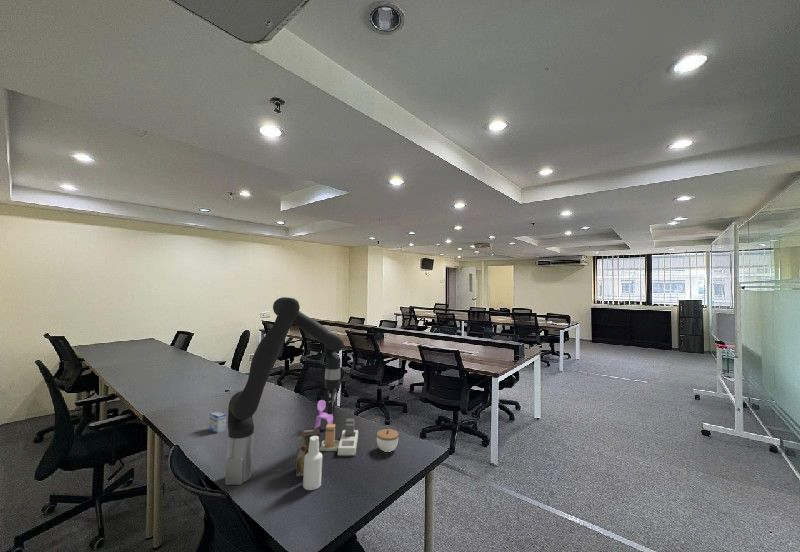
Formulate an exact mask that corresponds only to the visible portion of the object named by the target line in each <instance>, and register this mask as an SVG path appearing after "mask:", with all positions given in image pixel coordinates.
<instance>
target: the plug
mask: <svg viewBox="0 0 800 552" xmlns="http://www.w3.org/2000/svg"><path fill="white" fill-rule="evenodd" d="M335 438H336V423H333V424H328V423H327V424H326V426H325V436H324V440H325V448H334V443H335V441H336V439H335Z"/></svg>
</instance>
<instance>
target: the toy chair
mask: <svg viewBox="0 0 800 552" xmlns="http://www.w3.org/2000/svg"><path fill="white" fill-rule="evenodd" d="M326 407H327V401H325V400H324V399H320V400H318V402H317V405H316V408H317V410H318V415H316V418H315V424H314V427H313V429H318V427H320V426H321V421H322V420H325V421H326V423H327V424H334V423H333V422H334V416H333V413H332V414H331V415H329V414H328V412H324V410H325V409H326Z"/></svg>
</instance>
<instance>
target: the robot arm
mask: <svg viewBox="0 0 800 552" xmlns="http://www.w3.org/2000/svg"><path fill="white" fill-rule="evenodd" d="M300 308H301V307H300V302H299V301H298V300H297V299H296V298H293V297H279V298H277V299H276V300H275V301H274V302H273V304H272V310H273V313H274V314H275V315H276V318H275V320H274V323H273V325H272V326H271V327H270V330H269V331H268V332H267V333H266V334H265V335H264V336H263V338H262V339H261V340H260V342H259V343H258V345H257V347H256V349H255V350H254V351H255V352H254V353H253V356H252V359H251V362H250V367H249V373H248V378H247V381H246V384H245V386H244V388H243V390H242V391H237V392H236V393H234V395H232V397H230V400H229V403H228V409H227V429H228V430H227V431H228V433H227V434H228V435H227V447H226V448H227V450H226V451H227V452H226V463H225V465H226V466H225V481H224V485H226V486H230V485H232V486H233V485H234V486H236V485H237V486H238V485H239V486H241V485H243V483H245V482H248V481H249V480H250V479H251V478H252V465H253V451H254V433H255V425H254V424H255V423H254V421H253V415H254V414H255V413H256V412H257V409H258V407H259V405H260V401H261V398H262V395H263V392H264V389H265V387H266V384H267V382H268V380H269V378H270V375H271V373H272V370H273V368H274V366H275V364H276V361H277V360H278V358H279V355H280V353H281V351H282V350H281V349H282V348H283V345H284V343H285V341H286V338H287V336H288V333H289V331H290V329H291V328H292V326H293V324H294V325H295V326H297V327H298V328H299V329H300V330H302V331H303V332H305V333H306V334H308V335H309V336H310V337H312V339H314V340H316V341H317V342H319V343H321V344H323V345H324V346H323V347H324V355H325V372H324V388H325V389H328V391H327V392H326V393H327V394H326V398H327V399H326V407H327V413H328V414H329V415H331V414H333V410H334V409H335V408H336V400H337V399H336V398H337V389H339V388H341V357H340V356H339V355H338V352H341V351H342V350H343V349H344V345H345V342H344V339H342V338H341V337H340V336H339V335H337V334H336V333H334V332H332V331H330V330H329V329H327V328H326V327H325V326H324V325H322V324H321V323H319V322H318V321H316V320H314V319H313V318H311V317H309V316H308V315H306V314H304V313H303V312H302V311H300Z"/></svg>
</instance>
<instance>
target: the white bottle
mask: <svg viewBox="0 0 800 552" xmlns="http://www.w3.org/2000/svg"><path fill="white" fill-rule="evenodd" d="M322 469H323V453H322V452H321V451H320V452H319V437H318V436H312V437H310V443H309V450H308V453H307V454H306V455H305V457H304V476H302V477H303V479H302V487H303V489H304V490H306V491H315V490H317V489H319V488H320V487H321V486H322V472H323V471H322Z"/></svg>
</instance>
